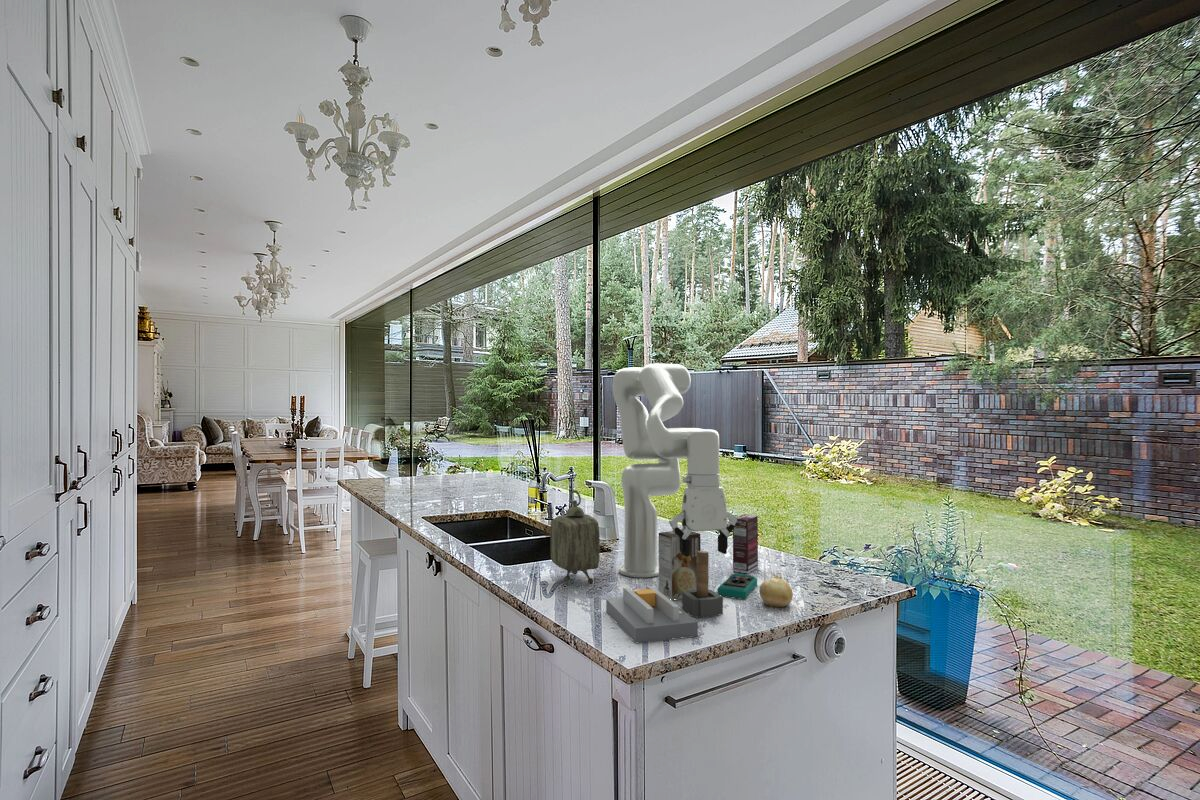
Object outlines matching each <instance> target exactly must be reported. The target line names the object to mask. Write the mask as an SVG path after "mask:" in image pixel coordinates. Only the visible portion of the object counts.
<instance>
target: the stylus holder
mask: <svg viewBox="0 0 1200 800" xmlns="http://www.w3.org/2000/svg"><path fill="white" fill-rule="evenodd" d="M681 600H682V601H681V609H682V608H683V609H684V610H685V611H684V610H683V609H682V610H683V611H684V612H685V613H687V614H688V613H689V614H688V615H689V616H691V617H692V618H697V617H698V618H701V619H702V618H710V617H711V618H712V617H719V616H720V615H723V614H724V596H720V595H719V594H718V592H715V591H714V590H712V589H708V597H707V598H697V597H696V590H689V591H687V592H682V599H681Z"/></svg>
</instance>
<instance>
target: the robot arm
mask: <svg viewBox="0 0 1200 800" xmlns="http://www.w3.org/2000/svg"><path fill="white" fill-rule="evenodd" d="M691 380H692V379H691V374H690V372H689V370H688V368H686V367H685V366H684V365H682V364H678V363H649V364H647V365H644V366H643V367H624V368H621V369H619V370H617V371H616V373H615V374H614V376H613V381H612V393H613V394H612V395H613V398H614V402H615V405H616V406H617V411H618V414H619V416H620V417H619V418H620V427H621V437H622V438H621V439H622V446H623V453H624V454H625V457H627V458H628V459H630V460H656V461H657V462H656V463H655V462H654V463H652V462H651V463H650V462H649V463H647V462H646V463H634V464H630V465H627V466H626V467H625V468H624V469H623V471H622V473H621V485H622V487H621V488H622V493H623V502H624V503H623V504H624V506H623V507H624V547H623V548H624V549H623V550H624V554H623V555H624V558H623V559H624V561H623V562H624V564H622V565H620V566H619V567H618V572H619V573H620V574H621V575H624V576H626V577H631V578H639V579H640V578H643V579H644V578H652V577H653V578H654V577H659V564H658V511H657V508H656V506H655V504H654V503H653V502H652V501H651V499H650V497H657V496H659V497H661V496H671V495H675V494H677V493H678V492H679V490H680V487H681V481H682V484H686V486H685V487H684V491H683V496H682V502H681V511H680V512H679V513H678V514H677V515H675V516H673V517H672V518H670V519H669V520H668V522H669V523H668V524H669V525H670V527H671V529H672V531H674V532H675V533H676V534H677V535H678V537H679V538H680V552H681V554H682V555H684V556H686V557H688V556H689V539H687V537H688V536H689V534H690V533H691V532H692V531H693V532H711V531H717V532H718V533H719V534H717V551H718V553H721V554H723V555H726V554H727V553H728V547H729V546H728V544H729V543H728V541H729V540H728V537H730V535H731V533H732V532H733V529H734V525H735V524H736V521H737V517H738V516H736V515H733V514H732V513H730V512H728V510H727V501H726V497H725V496H726V495H725V489H724V487H723V486H720V434H719V432H718V431H717V430H715V429H704V428H698V427H670V428H669V427H665V425H664V423H663V422H666V421H667V420H669V419H671V418H674V417H675V416H676V415H678V414H679V413H680V412H681V411H682V409H683V406H684V399H683V396H682V395H683V394H686V393H687V392H688V390H690V387H691V383H692V382H691ZM638 397H646V398H647V401H648V403H649V405H650V406H651V410H650V412H648V409H647V407H646V406H645V405H644V404H643V402H642V401H641V400H639V398H638ZM679 459H686V460H687V465H686V466H687V468H686V469H687V471H686V476H684V477H682V478H681V469H680V462H679ZM681 479H682V480H681ZM680 522H681V526H682V527H681V528H680V527H679V525H678V523H680Z"/></svg>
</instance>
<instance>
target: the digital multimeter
mask: <svg viewBox="0 0 1200 800" xmlns="http://www.w3.org/2000/svg"><path fill="white" fill-rule="evenodd" d="M757 586H758V578H757V577H755V576H753V575H749V574H743V573H733V574H730V576H729V577H728V578H727V579H725V581H724V582H723V583H721V584H720V585H719V586H718V587H717V594H719V595H721V596H722V597H725V596H727V597H726V598H731V597H734V598H733V599H739V598H741V600H745V599H747V598H748V596H749V594H750V593H751V592H752V591H753V589H755V588H756V587H757ZM754 587H755V588H754Z"/></svg>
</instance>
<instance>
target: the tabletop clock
mask: <svg viewBox="0 0 1200 800" xmlns="http://www.w3.org/2000/svg"><path fill="white" fill-rule="evenodd" d="M572 494H576V495H577V497H578V500H577V499H574V500H573V499H572ZM569 501H570V503H571V504H572V506H571V507H568V508H567V510H566V512H565V514H564V515H558V516H556V517H555V518H553V519H552V520H551V521H550V534H549V535H550V538H549V539H550V542H549V545H550V547H549V549H550V551H549V552H550V559H551V561H552V563H553V564H554V565H556V566H557V567H559V568H561V570H562V569H563V570H565V571H567V572H566V575H565V576H564V578H563V580H564V582H566V581H567V582H570V581H571V580H570V579H571V578H570V574H571V572H572V574H573V575H577V574H578V572H582V573H584V575H585V576H586V578H587V583H588V585H592V584H594V582H595V581H594V579H593V578H592V577H590V575H589V573H588V571H589V570H596V569H599V563H600V554H601V553H600V548H601V545H600V544H601V540H600V537H601V536H600V526H599V521H598V520H597V519H596V518H595V517H593V516H591V515H590V514H585V512H584V510H583V509H582V508H581V507H580V505H581V502H582V499H581V494H580V492H579V491H578V490H575V489H573V490H571V491H570V493H569Z"/></svg>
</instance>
